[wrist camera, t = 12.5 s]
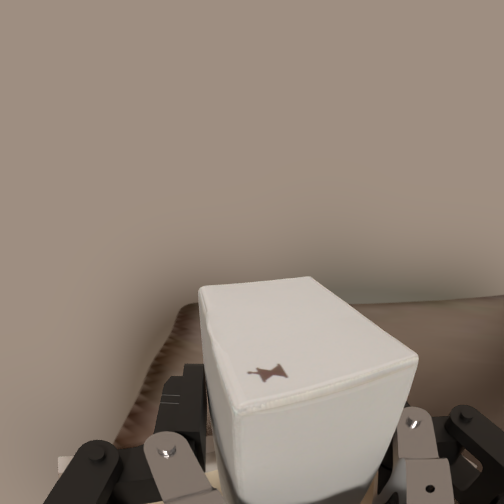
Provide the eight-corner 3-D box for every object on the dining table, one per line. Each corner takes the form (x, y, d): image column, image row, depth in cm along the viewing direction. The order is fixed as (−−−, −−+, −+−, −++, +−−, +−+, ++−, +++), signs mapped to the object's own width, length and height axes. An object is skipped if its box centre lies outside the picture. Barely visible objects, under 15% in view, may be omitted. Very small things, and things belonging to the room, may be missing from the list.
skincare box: (335, 549, 8) (430, 357, 5) (246, 574, 7) (226, 415, 4) (293, 468, 14) (312, 271, 11) (218, 484, 13) (192, 284, 10)
